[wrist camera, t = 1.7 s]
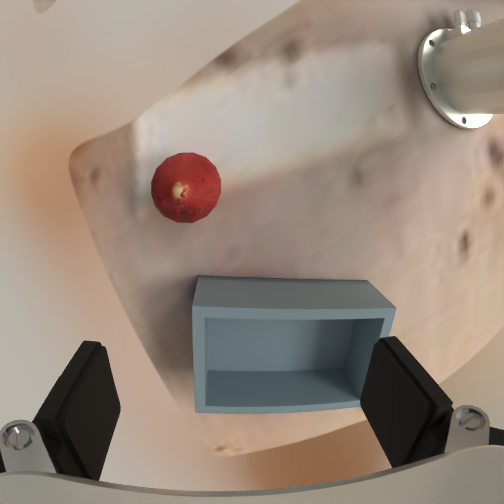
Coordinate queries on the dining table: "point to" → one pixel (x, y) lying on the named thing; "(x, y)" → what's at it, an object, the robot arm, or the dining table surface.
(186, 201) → the red round fruit
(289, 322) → the blue-grey open box
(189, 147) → the dining table surface
